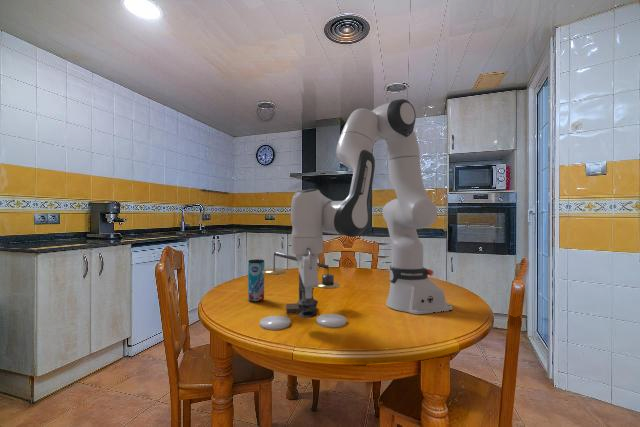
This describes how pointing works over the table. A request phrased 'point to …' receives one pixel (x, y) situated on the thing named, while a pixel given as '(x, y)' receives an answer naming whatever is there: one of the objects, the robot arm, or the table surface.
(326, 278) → the balance
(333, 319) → the dish low side
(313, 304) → the chess piece
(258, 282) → the beverage can
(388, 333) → the table surface
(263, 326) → the dish high side
